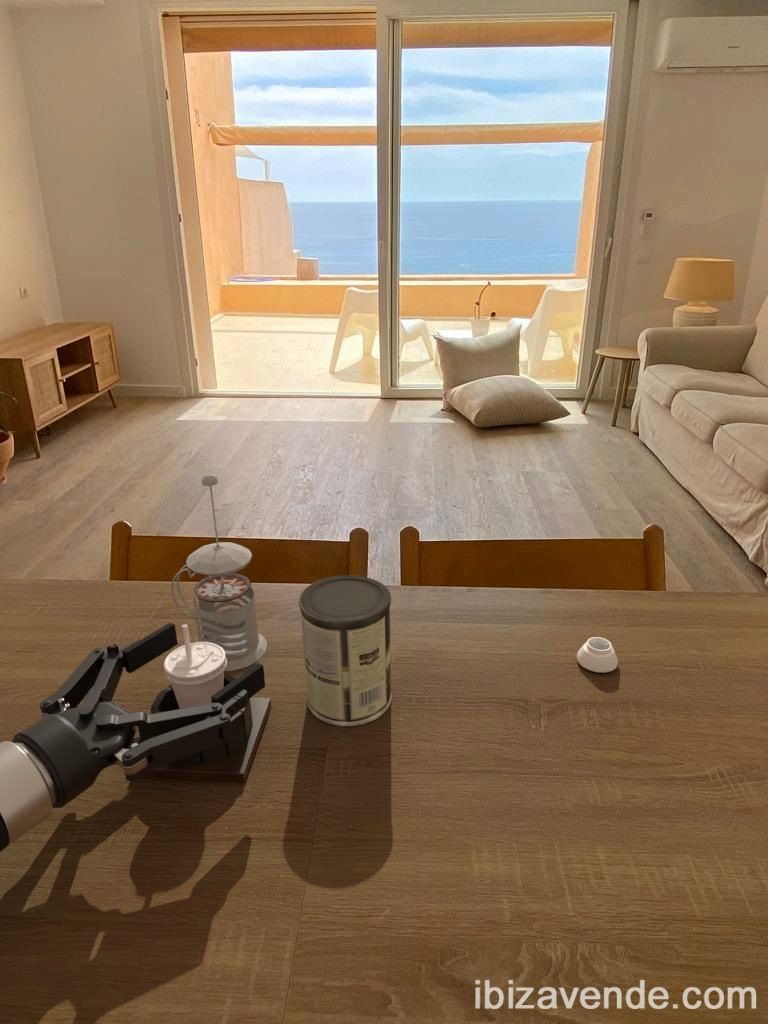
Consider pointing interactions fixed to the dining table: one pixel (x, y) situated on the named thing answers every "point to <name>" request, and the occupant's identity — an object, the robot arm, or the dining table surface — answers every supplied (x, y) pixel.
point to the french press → (224, 599)
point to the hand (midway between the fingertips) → (216, 652)
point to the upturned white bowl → (597, 655)
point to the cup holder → (222, 759)
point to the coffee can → (347, 649)
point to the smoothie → (195, 671)
